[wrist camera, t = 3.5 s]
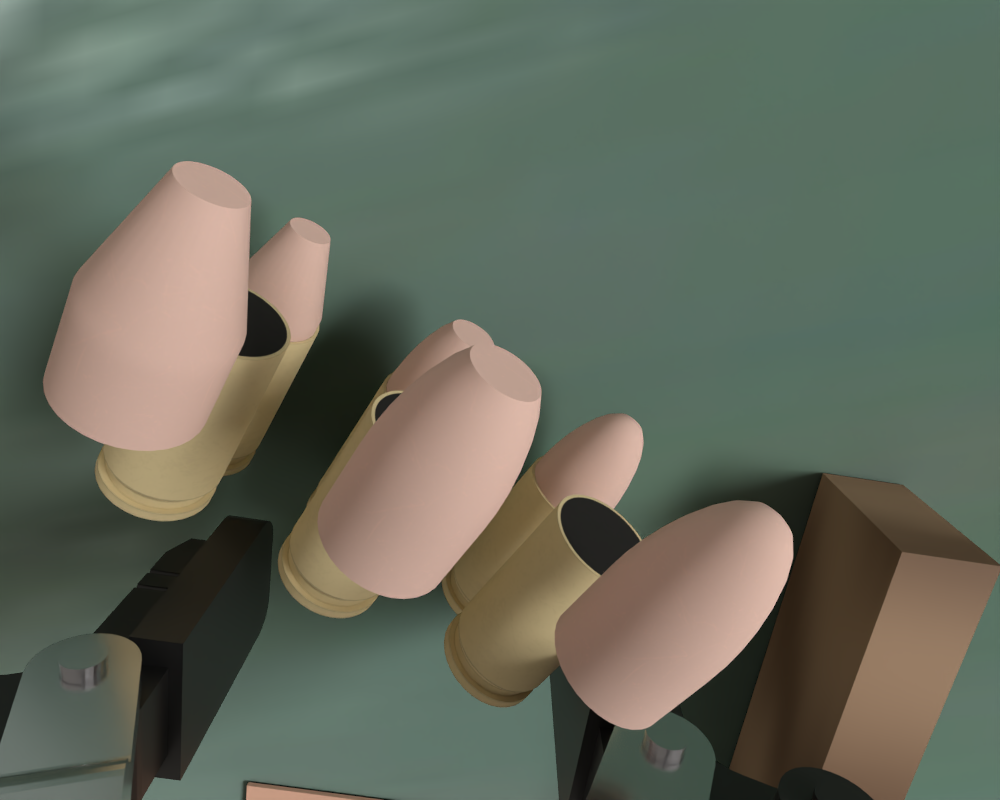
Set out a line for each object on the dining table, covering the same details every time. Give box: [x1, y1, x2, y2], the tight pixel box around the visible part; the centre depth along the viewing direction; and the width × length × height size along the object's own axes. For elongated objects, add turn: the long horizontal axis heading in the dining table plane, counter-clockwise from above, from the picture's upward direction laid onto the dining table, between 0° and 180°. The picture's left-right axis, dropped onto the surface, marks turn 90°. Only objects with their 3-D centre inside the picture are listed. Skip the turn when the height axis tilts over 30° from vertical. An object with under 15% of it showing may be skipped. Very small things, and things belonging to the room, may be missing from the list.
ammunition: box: [43, 161, 793, 730], centre depth 10 cm, size 5×7×8 cm, turn 57°
